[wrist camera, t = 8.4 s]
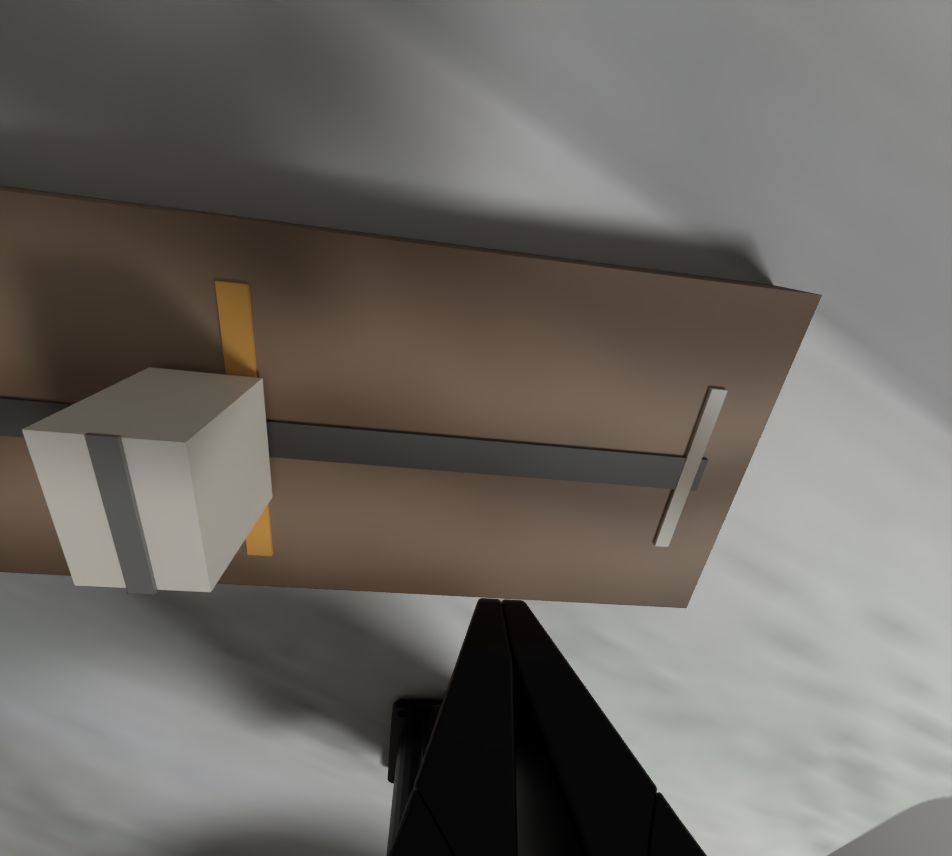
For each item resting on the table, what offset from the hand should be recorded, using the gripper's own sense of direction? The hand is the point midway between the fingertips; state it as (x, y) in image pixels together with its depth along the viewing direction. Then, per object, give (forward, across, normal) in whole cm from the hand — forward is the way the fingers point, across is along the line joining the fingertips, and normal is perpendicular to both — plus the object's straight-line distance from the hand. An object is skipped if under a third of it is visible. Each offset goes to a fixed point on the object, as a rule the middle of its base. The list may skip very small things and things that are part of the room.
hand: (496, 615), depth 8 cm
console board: (+8, +7, 0) cm, 11 cm away
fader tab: (+6, +8, 0) cm, 10 cm away
